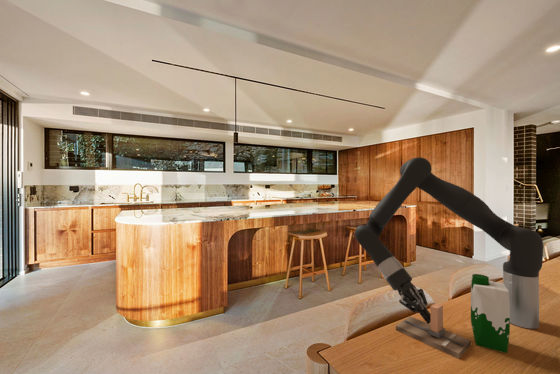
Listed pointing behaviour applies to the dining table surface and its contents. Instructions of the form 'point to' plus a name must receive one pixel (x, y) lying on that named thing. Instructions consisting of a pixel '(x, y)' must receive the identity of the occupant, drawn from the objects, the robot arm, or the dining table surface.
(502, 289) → the milk carton
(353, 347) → the dining table surface
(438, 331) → the fader
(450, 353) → the console
